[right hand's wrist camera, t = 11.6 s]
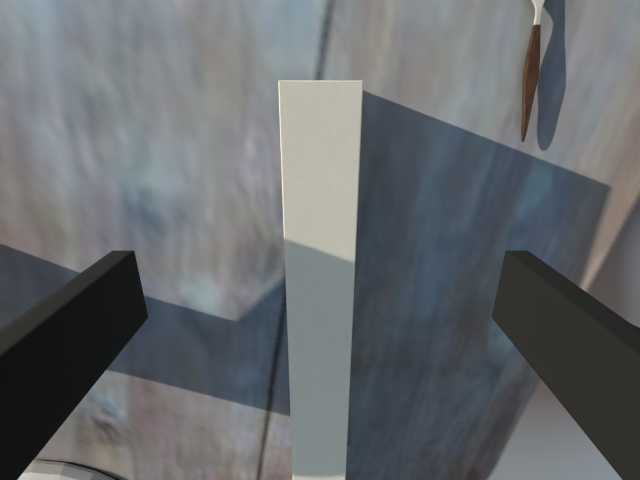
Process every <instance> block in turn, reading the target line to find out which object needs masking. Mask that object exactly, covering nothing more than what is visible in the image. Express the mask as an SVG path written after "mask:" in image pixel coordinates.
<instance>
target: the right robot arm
mask: <svg viewBox="0 0 640 480" xmlns="http://www.w3.org/2000/svg"><path fill="white" fill-rule="evenodd" d="M147 318H148V314H147V309H146V305H145V300H144V295H143V290H142V286H141V281H140V276H139V271H138V267H137V262H136V257H135V253H134V251H111V252H110V253H109V254H107V255H106V256H104V257H103V258H102V259H100V260H99V261H97V262H96V263H94V264H93V265H92V266H90V267H89V268H87V269H86V270H85V271H83V272H82V273H80V274H79V275H78V276H76V277H75V278H73V279H72V280H70V281H69V282H68V283H66V284H65V285H63V286H62V287H61V288H59V289H58V290H56V291H55V292H54V293H52V294H51V295H49V296H48V297H47V298H45V299H44V300H42V301H41V302H39V303H38V304H37V305H35V306H34V307H32V308H31V309H30V310H28V311H27V312H25V313H24V314H23V315H21V316H20V317H18V318H17V319H16V320H14V321H13V322H11V323H10V324H8V325H7V326H6V327H4V328H3V329H0V480H18V478H19V477H20V476H21V475H22V473H23V472H24V471H25V470H26V468H27V467H28V466H29V465H30V463H31V462H32V461H33V460H34V458H35V457H36V456H37V455H38V454H39V452H40V451H41V450H42V449H43V447H44V446H45V445H46V444H47V442H48V441H49V440H50V439H51V437H52V436H53V435H54V434H55V432H56V431H57V430H58V429H59V427H60V426H61V425H62V424H63V422H64V421H65V420H66V419H67V417H68V416H69V415H70V414H71V412H72V411H73V410H74V409H75V408H76V406H77V405H78V404H79V403H80V401H81V400H82V399H83V398H84V396H85V395H86V394H87V393H88V391H89V390H90V389H91V388H92V386H93V385H94V384H95V383H96V381H97V380H98V379H99V378H100V376H101V375H102V374H103V373H104V371H105V370H106V369H107V368H108V366H109V365H110V364H111V363H112V362H113V360H114V359H115V358H116V357H117V355H118V354H119V353H120V352H121V350H122V349H123V348H124V347H125V345H126V344H127V343H128V342H129V340H130V339H131V338H132V337H133V335H134V334H135V333H136V332H137V330H138V329H139V328H140V327H141V325H142V324H143V323H144V322H145V320H146V319H147ZM492 318H493V319H494V320H495V322H496V323H497V324H498V325H499V327H500V328H501V329H502V330H503V332H504V333H505V334H506V335H507V337H508V338H509V339H510V340H511V342H512V343H513V344H514V345H515V347H516V348H517V349H518V350H519V352H520V353H521V354H522V355H523V357H524V358H525V359H526V360H527V362H528V363H529V364H530V365H531V366H532V368H533V369H534V370H535V371H536V373H537V374H538V375H539V376H540V378H541V379H542V380H543V381H544V383H545V384H546V385H547V386H548V388H549V389H550V390H551V391H552V393H553V394H554V395H555V396H556V398H557V399H558V400H559V401H560V403H561V404H562V405H563V406H564V408H565V409H566V410H567V411H568V412H569V414H570V415H571V416H572V417H573V419H574V420H575V421H576V422H577V424H578V425H579V426H580V427H581V429H582V430H583V431H584V432H585V434H586V435H587V436H588V437H589V439H590V440H591V441H592V442H593V444H594V445H595V446H596V447H597V449H598V450H599V451H600V452H601V453H602V455H603V456H604V457H605V458H606V460H607V461H608V462H609V463H610V465H611V466H612V467H613V468H614V470H615V471H616V472H617V473H618V475H619V476H620V477H621V478H622V480H640V328H639V327H636V326H634V325H632V324H630V323H629V322H627V321H626V320H624V319H623V318H622V317H620V316H619V315H617V314H616V313H615V312H613V311H612V310H610V309H609V308H608V307H606V306H605V305H603V304H602V303H601V302H599V301H598V300H596V299H595V298H593V297H592V296H591V295H589V294H588V293H586V292H585V291H584V290H582V289H581V288H579V287H578V286H577V285H575V284H574V283H572V282H571V281H570V280H568V279H567V278H565V277H564V276H562V275H561V274H560V273H558V272H557V271H555V270H554V269H553V268H551V267H550V266H548V265H547V264H546V263H544V262H543V261H541V260H540V259H538V258H537V257H536V256H534V255H533V254H531V253H530V252H529V251H506V253H505V257H504V262H503V267H502V271H501V276H500V281H499V286H498V290H497V295H496V300H495V305H494V309H493V314H492Z"/></svg>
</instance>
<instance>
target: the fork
mask: <svg viewBox="0 0 640 480" xmlns="http://www.w3.org/2000/svg"><path fill="white" fill-rule="evenodd" d="M532 2H533V4H534V7H535V19H534V24H533V28H532V33H531V37H530V42H529V46H528V50H527V55H526V60H525V65H524V72H523V101H522V126H521V141H522V142H524V139H525V136H526V132H527V127H528V122H529V117H530V112H531V108H532V103H533V98H534V94H535V89H536V85H537V80H538V74H539V64H540V22H541V11H542V7H543V4H544V2H545V0H532Z"/></svg>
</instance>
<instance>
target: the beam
mask: <svg viewBox="0 0 640 480" xmlns="http://www.w3.org/2000/svg"><path fill="white" fill-rule="evenodd" d="M278 83H279V111H280V139H281V166H282V194H283V221H284V249H285V277H286V304H287V332H288V359H289V387H290V415H291V442H292V470H293V480H346V459H347V436H348V414H349V392H350V370H351V347H352V325H353V303H354V280H355V258H356V236H357V213H358V191H359V169H360V146H361V124H362V102H363V81H324V80H279V82H278Z"/></svg>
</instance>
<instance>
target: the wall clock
mask: <svg viewBox="0 0 640 480" xmlns="http://www.w3.org/2000/svg"><path fill="white" fill-rule="evenodd" d="M18 480H115V479H113V478H110V477H108V476H106V475H104V474H102V473H99V472H97V471H95V470H91V469H87V468H84V467H80V466H76V465H72V464H68V463H63V462H52V461H41V460H33V461H32V462H31V463H30V465H29V466H28V467H27V468H26V470H25V471H24V472H23V473H22V475H21V476H20V477H19V478H18Z"/></svg>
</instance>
